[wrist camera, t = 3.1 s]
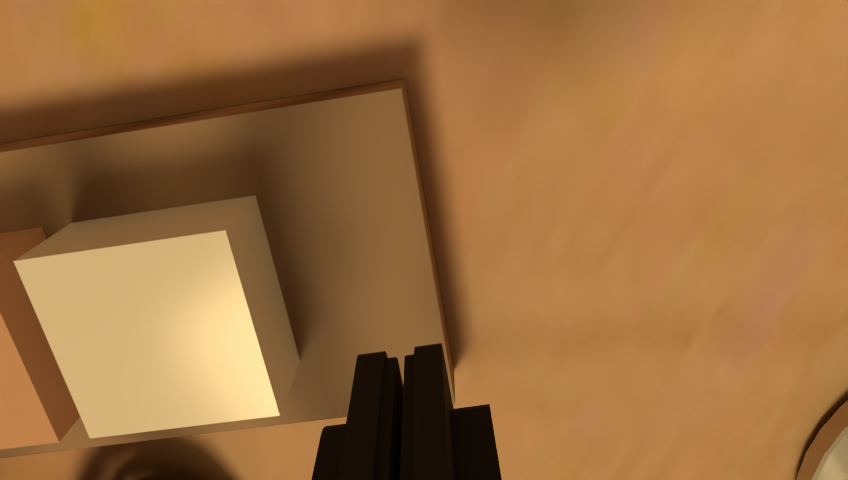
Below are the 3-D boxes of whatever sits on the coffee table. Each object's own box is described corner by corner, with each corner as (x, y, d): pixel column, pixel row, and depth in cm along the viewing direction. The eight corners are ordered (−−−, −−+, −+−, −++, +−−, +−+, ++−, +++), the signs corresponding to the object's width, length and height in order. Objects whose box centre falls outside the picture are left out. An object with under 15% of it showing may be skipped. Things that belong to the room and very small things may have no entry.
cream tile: (255, 195, 20) (225, 230, 17) (299, 360, 22) (279, 415, 19) (71, 222, 20) (13, 260, 18) (133, 381, 23) (89, 438, 20)
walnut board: (405, 78, 20) (401, 88, 19) (454, 371, 24) (455, 403, 23) (-173, 171, 22) (-229, 189, 20) (-38, 432, 26) (-74, 467, 24)
